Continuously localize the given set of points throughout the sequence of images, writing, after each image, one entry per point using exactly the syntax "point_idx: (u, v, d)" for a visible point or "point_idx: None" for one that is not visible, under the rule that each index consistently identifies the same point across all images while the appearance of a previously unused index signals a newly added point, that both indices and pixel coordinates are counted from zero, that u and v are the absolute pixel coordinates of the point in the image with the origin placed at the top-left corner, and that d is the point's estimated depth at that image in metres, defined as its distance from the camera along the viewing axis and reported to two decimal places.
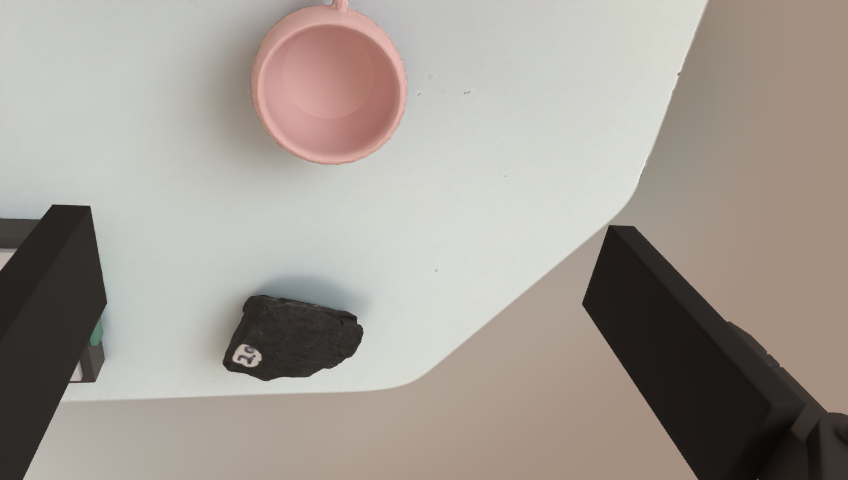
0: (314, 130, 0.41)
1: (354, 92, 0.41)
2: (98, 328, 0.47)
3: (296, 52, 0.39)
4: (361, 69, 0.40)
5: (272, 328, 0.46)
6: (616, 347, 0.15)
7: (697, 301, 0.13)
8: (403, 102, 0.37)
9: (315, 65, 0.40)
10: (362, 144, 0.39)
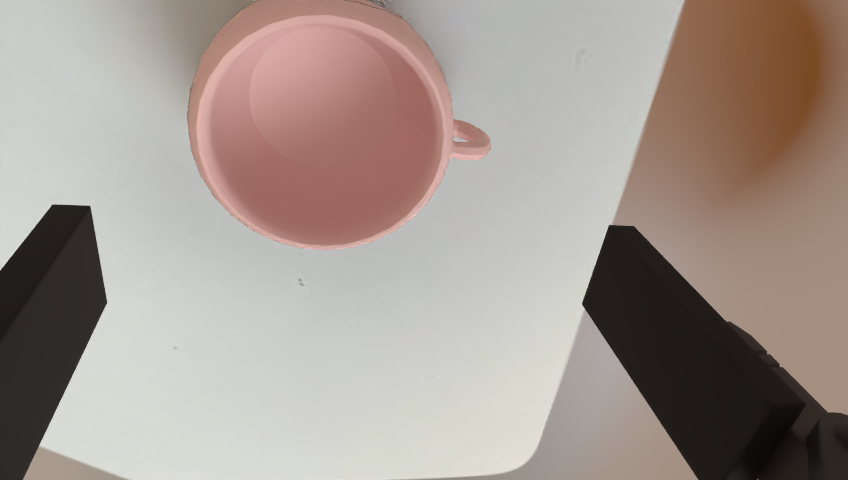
0: (231, 82, 0.23)
1: (296, 138, 0.26)
2: None
3: (357, 51, 0.24)
4: (333, 149, 0.26)
5: None
6: (616, 347, 0.15)
7: (697, 300, 0.13)
8: (320, 249, 0.23)
9: (335, 79, 0.25)
10: (232, 184, 0.22)
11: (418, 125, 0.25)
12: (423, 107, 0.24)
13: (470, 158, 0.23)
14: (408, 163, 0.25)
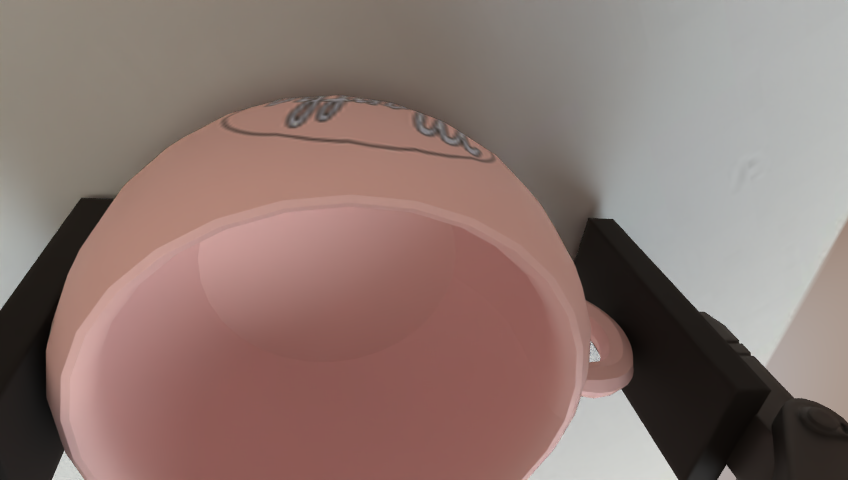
0: None
1: (284, 320, 0.15)
2: None
3: None
4: (347, 331, 0.16)
5: None
6: None
7: (671, 291, 0.13)
8: None
9: (351, 227, 0.14)
10: (159, 467, 0.11)
11: (499, 311, 0.14)
12: (512, 288, 0.13)
13: (606, 394, 0.12)
14: (480, 373, 0.14)
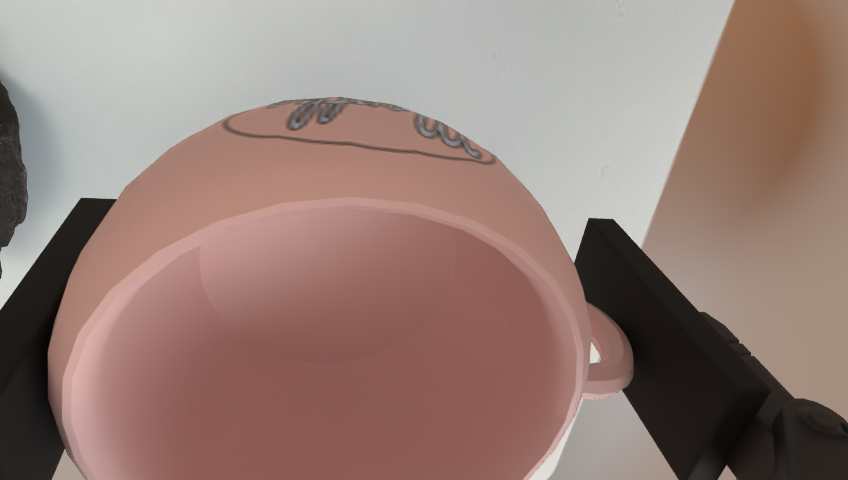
0: None
1: (285, 321, 0.15)
2: None
3: None
4: (348, 332, 0.16)
5: None
6: None
7: (671, 291, 0.13)
8: None
9: (352, 228, 0.14)
10: (160, 468, 0.11)
11: (500, 312, 0.14)
12: (513, 289, 0.13)
13: (606, 395, 0.12)
14: (481, 374, 0.14)
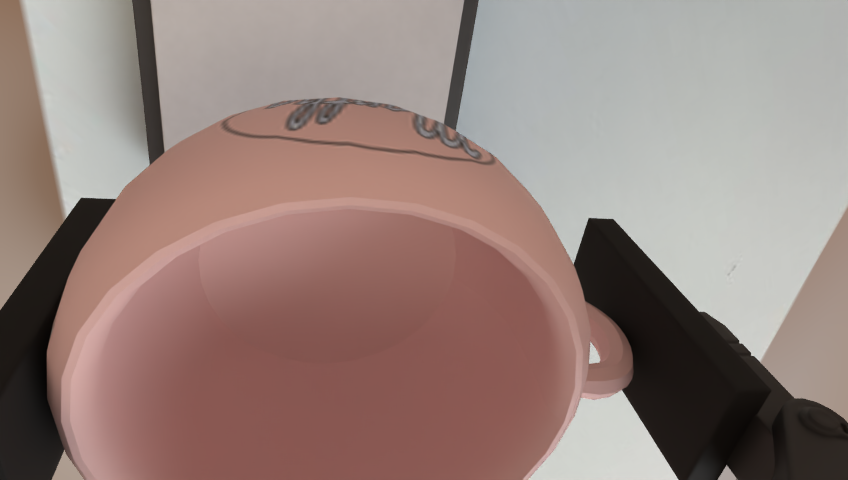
0: None
1: (285, 321, 0.15)
2: None
3: None
4: (347, 332, 0.16)
5: None
6: None
7: (671, 291, 0.13)
8: None
9: (351, 228, 0.14)
10: (159, 468, 0.11)
11: (499, 313, 0.14)
12: (512, 290, 0.13)
13: (606, 396, 0.12)
14: (480, 375, 0.14)
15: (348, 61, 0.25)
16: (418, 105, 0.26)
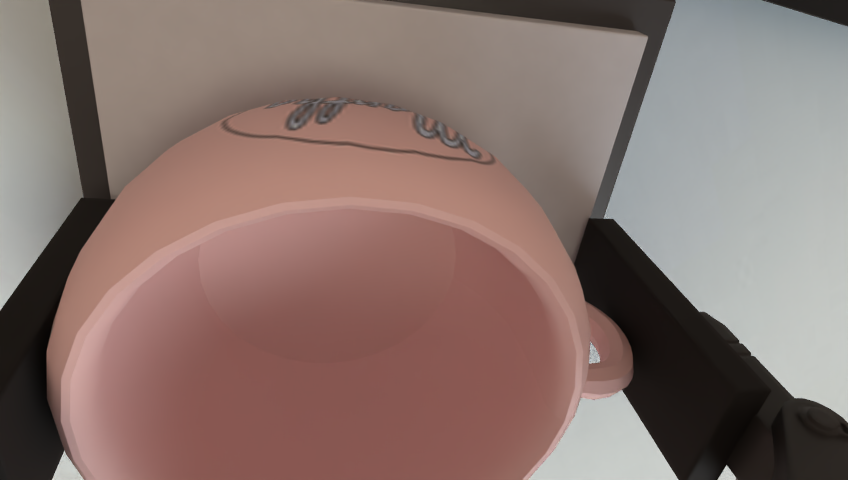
0: None
1: (285, 321, 0.15)
2: None
3: None
4: (347, 332, 0.16)
5: None
6: None
7: (671, 291, 0.13)
8: None
9: (352, 228, 0.14)
10: (159, 468, 0.11)
11: (499, 312, 0.14)
12: (512, 290, 0.13)
13: (606, 396, 0.12)
14: (480, 375, 0.14)
15: None
16: None
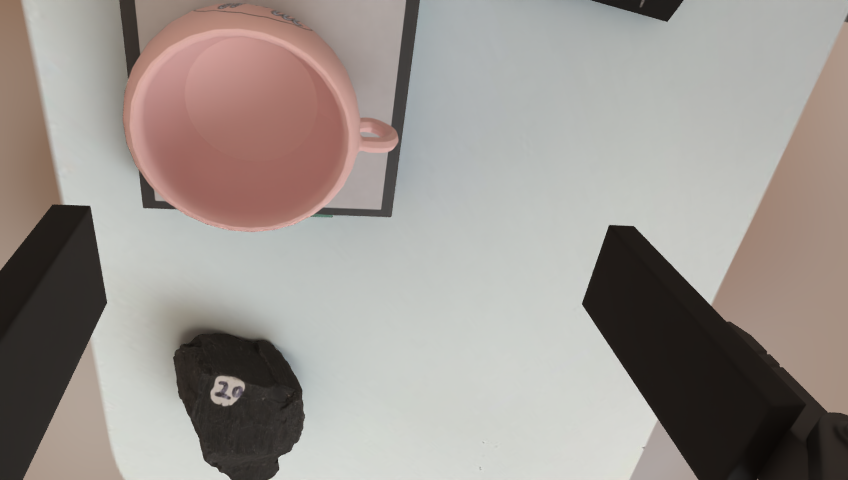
0: (166, 85, 0.26)
1: (230, 135, 0.29)
2: None
3: (280, 58, 0.28)
4: (264, 144, 0.30)
5: (272, 409, 0.39)
6: (616, 347, 0.15)
7: (697, 301, 0.13)
8: (246, 231, 0.27)
9: (262, 82, 0.28)
10: (166, 174, 0.25)
11: (335, 122, 0.28)
12: (338, 107, 0.27)
13: (377, 151, 0.27)
14: (328, 156, 0.28)
15: None
16: (365, 133, 0.31)
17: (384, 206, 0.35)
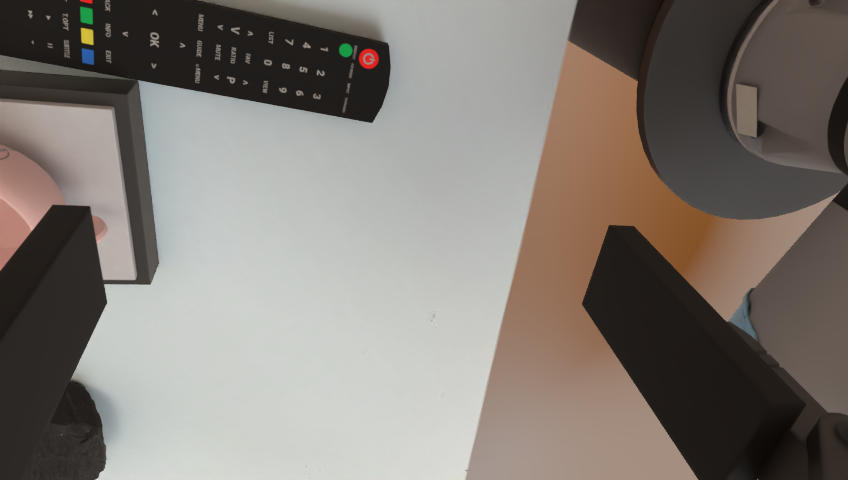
0: None
1: None
2: None
3: None
4: (9, 234, 0.36)
5: (71, 443, 0.46)
6: (616, 347, 0.15)
7: (697, 301, 0.13)
8: None
9: None
10: None
11: None
12: None
13: None
14: None
15: None
16: (104, 221, 0.38)
17: (141, 276, 0.41)
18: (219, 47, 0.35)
